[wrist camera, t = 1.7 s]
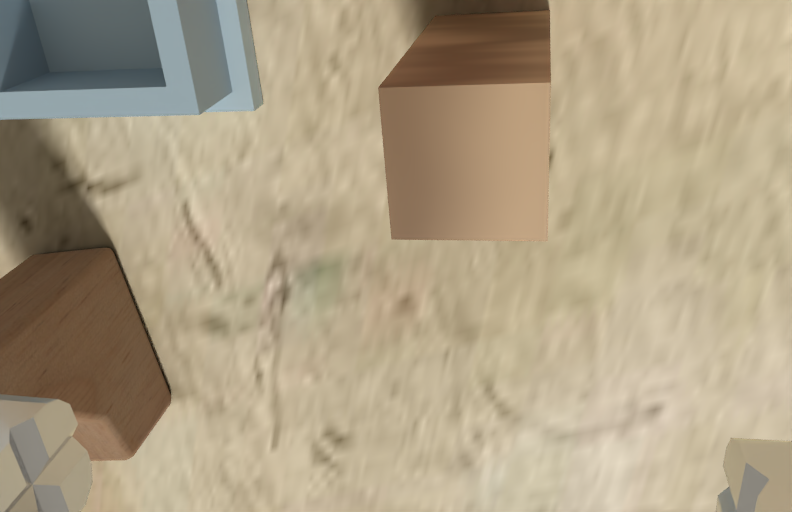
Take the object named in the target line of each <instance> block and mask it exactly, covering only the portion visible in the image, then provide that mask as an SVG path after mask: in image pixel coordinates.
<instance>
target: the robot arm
mask: <svg viewBox="0 0 792 512" xmlns="http://www.w3.org/2000/svg"><path fill="white" fill-rule="evenodd" d="M77 425H78V423H77V420H76V418H75V415H74V413H73V410H72V408H71V405H70V404H69V403H66V402H64V401H61V400H59V399H50V398H38V397H26V396H15V395H3V394H0V512H81V511H82V509H83V508H84V506H85V505H86V502H87V499H88V495H89V492H90V489H91V485H92V464H91V461H90V458H89V455H88V452H87V450H86V449H85V448H84V447H83V446H82V445H81V444H80V443H79V442H78V441H77V440H75V439H74V438H73V437H72V436H73V434H74V431H75V429H76V427H77ZM723 467H724V470H725V474H726V477H727V480H728V484H729V487H728V488H727V489H725V490H724V491H723V492H722V493H721V494H719V495H718V498H717V506H716V512H792V441H780V440H761V439H742V438H731V439H730V441H729V443H728V445H727V448H726V452H725V458H724V463H723Z"/></svg>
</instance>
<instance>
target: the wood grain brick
mask: <svg viewBox="0 0 792 512" xmlns="http://www.w3.org/2000/svg"><path fill="white" fill-rule="evenodd" d="M378 90H379V102H380V113H381V124H382V136H383V147H384V158H385V170H386V181H387V192H388V204H389V215H390V227H391V238H392V239H405V240H488V241H547V238H548V189H549V140H550V91H551V69H550V10H542V11H521V12H501V13H481V14H461V15H441V16H435V17H434V18H433V19H432V21H431V22H430V23H429V24H428V26H427V27H426V28H425V29H424V31H423V32H422V33H421V34H420V36H419V37H418V38H417V40H416V41H415V42H414V43H413V45H412V46H411V47H410V48H409V50H408V51H407V52H406V53H405V55H404V56H403V57H402V58H401V60H400V61H399V62H398V64H397V65H396V66H395V67H394V69H393V70H392V71H391V72H390V74H389V75H388V76H387V77H386V79H385V80H384V81H383V82H382V84H381V85H380V86H379V88H378Z"/></svg>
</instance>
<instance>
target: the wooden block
mask: <svg viewBox="0 0 792 512" xmlns="http://www.w3.org/2000/svg"><path fill="white" fill-rule="evenodd" d="M0 394H3V395H15V396H26V397H38V398H50V399H59V400H61V401H64V402H66V403H69V404H70V405H71V408H72V410H73V413H74V415H75V418H76V420H77V423H78V425H77V427H76V429H75V431H74V434H73V436H72V437H73V438H74V439H75V440H77V441H78V442H79V443H80V444H81V445H82V446H83V447H84V448H85V449H86V450H87V452H88V455H89V458H90V461H102V460H127V459H129V458H131V457H132V456H134V454H135V453H136V452H137V450H138V449H139V447H140V446H141V445H142V443H143V442H144V440H145V439H146V438H147V436H148V435H149V433H150V432H151V430H152V429H153V428H154V426H155V425H156V423H157V422H158V421H159V419H160V418H161V416H162V415H163V414H164V412H165V411H166V409H167V408H168V406H169V405H170V403H171V395H170V392H169V390H168V387H167V385H166V382H165V380H164V377H163V375H162V372H161V370H160V367H159V365H158V362H157V360H156V357H155V355H154V352H153V350H152V347H151V345H150V342H149V340H148V337H147V335H146V332H145V330H144V327H143V325H142V322H141V320H140V317H139V315H138V312H137V310H136V307H135V305H134V302H133V300H132V297H131V295H130V292H129V290H128V287H127V285H126V282H125V280H124V277H123V275H122V272H121V270H120V267H119V265H118V262H117V260H116V257H115V255H114V252H113V251H112V250H111V249H110V248H106V247H105V248H96V249H86V250H76V251H66V252H57V253H47V254H37V255H32V256H31V257H29V258H28V259H27V260H25V261H24V262H23V263H21V264H20V265H18V266H17V267H16V268H14V269H13V270H12V271H10V272H9V273H8V274H6V275H5V276H4V277H2V278H1V279H0Z"/></svg>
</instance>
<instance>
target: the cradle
mask: <svg viewBox="0 0 792 512" xmlns="http://www.w3.org/2000/svg"><path fill="white" fill-rule="evenodd" d="M262 104H263V99H262V92H261V86H260V80H259V74H258V68H257V61H256V55H255V49H254V43H253V37H252V31H251V24H250V18H249V12H248V6H247V0H0V120H5V119H46V118H88V117H129V116H171V115H200V114H201V113H203V112H227V111H255V110H256V109H257V108H259V107H260V106H261V105H262Z"/></svg>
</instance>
